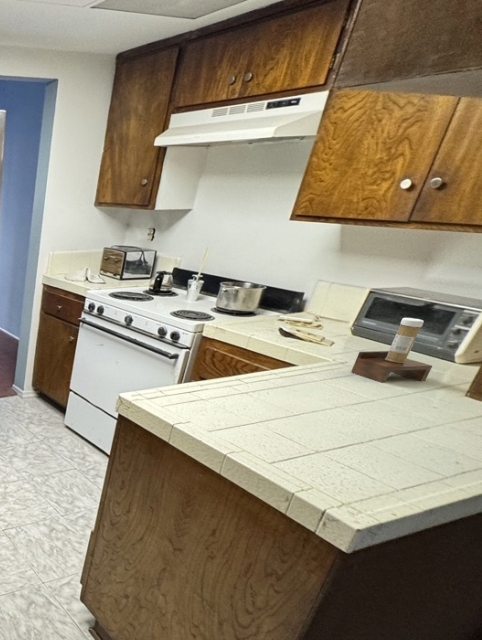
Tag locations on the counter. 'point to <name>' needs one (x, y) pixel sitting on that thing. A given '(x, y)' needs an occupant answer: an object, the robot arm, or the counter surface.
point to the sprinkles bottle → (404, 340)
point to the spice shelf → (388, 367)
